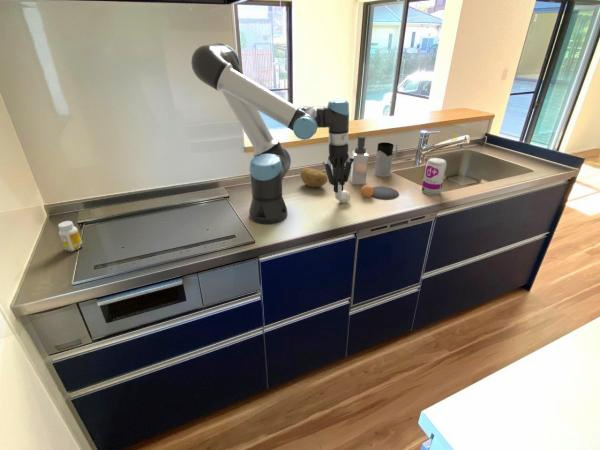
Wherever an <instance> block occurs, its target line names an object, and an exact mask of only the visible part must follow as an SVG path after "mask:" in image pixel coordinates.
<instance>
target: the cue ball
mask: <svg viewBox="0 0 600 450" xmlns="http://www.w3.org/2000/svg"><path fill="white" fill-rule="evenodd" d="M350 200H351V194H350V192H349V191H348V190H347V189H346V190H345V189H343V191H342V200H338V202H339V203H341V204H346V203H348V202H350Z"/></svg>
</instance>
